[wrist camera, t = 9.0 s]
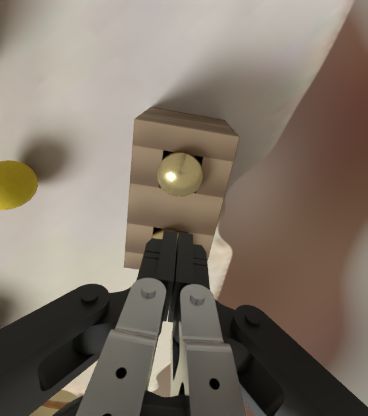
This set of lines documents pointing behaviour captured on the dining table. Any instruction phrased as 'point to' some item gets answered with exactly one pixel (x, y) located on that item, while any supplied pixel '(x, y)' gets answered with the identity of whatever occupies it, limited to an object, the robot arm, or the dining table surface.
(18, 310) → the dining table surface
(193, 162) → the near peg
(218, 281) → the dining table surface
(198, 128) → the brown wooden block
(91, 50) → the dining table surface
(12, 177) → the lemon
